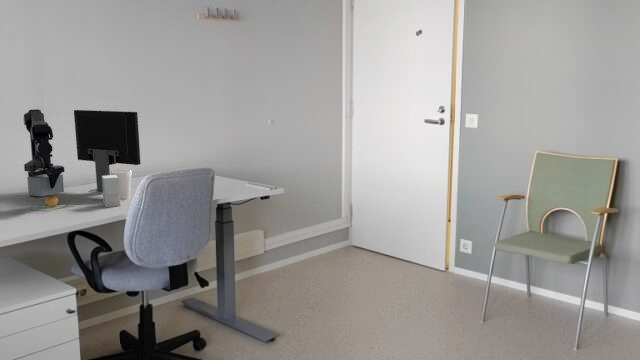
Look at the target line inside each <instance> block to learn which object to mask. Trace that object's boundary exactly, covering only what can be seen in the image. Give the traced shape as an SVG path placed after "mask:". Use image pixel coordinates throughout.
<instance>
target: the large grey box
mask: <svg viewBox="0 0 640 360" xmlns="http://www.w3.org/2000/svg"><path fill="white" fill-rule="evenodd" d="M26 178H27V188H28V189H27V190H28V196H30V195H33V196H32V197H34V196H41V197H46V196H52V195H55V194H59V193H60V194H61V193H65V190H64V189H65V188H64V174H60V175H59V177H58V179H57V182H56V184H55V186H54V188H53V189H51V186H50V180H49V177H48V176H47V175H46V174H44V175H38V176H32V177H28V176H27V177H26Z"/></svg>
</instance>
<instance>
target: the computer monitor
mask: <svg viewBox="0 0 640 360" xmlns="http://www.w3.org/2000/svg"><path fill="white" fill-rule="evenodd" d="M73 116H74V117H73V119H74V130H75V141H76V154H77V160H78V161H84V162H85V161H89V162H94V164H95V165H94V166H95V178H96V179H95V180H96V188H93V189H89V190H88V193H95V192H97V194H103V187H102V176H107V175H111V171H110V169H111V168H110V166H112V165H117V164H119V165H120V164H121V165H123V164H124V165H133V166H138V165H141V163H142V162H141V151H140V150H141V149H140V135H139V133H140V132H139V116H138V112H137V111H120V110H115V111H114V110H91V109H90V110H89V109H85V110H84V109H75V110H73Z"/></svg>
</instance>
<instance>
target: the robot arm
mask: <svg viewBox="0 0 640 360" xmlns="http://www.w3.org/2000/svg"><path fill="white" fill-rule="evenodd" d="M41 110H42V109H39V108H38V109H37V108H36V109H35V108H34V109H33V108H32V109H29V110H28V112H25V113H23V124H24V126H25V129H26V130H27V131H28V133H29V139H30V150H31V151H30V152H31V160H29V161H28V162H26V163H25V164H23V167H24V172H27V177H32V176H38V175H44V174H46V175H47V176H48V177H49V180H50V186H51V189H53V188H54V186H55V184H56V182H57V179H58V177H59V175H60V174H62V173H65V167H64V165H59V164H58V165H54V163H52V160H51V158H53V154H52V152H53V150H54V149H53V145H52V144H51V143H50V140H53V138H54V134H53V128H52V126H50V125H49V123H48V122H46V121H45V114H44V113H43V112H42V111H41ZM62 175H63V174H62ZM29 197H34V198H35V197H36V198H41V197H42V196H33V195H29Z"/></svg>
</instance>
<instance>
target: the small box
mask: <svg viewBox="0 0 640 360" xmlns="http://www.w3.org/2000/svg"><path fill="white" fill-rule="evenodd" d="M102 187H103V193H102V199H103V201H102V202H103V205H104V206H105V208H111V207H112V208H113V207H119V206H121V200H120V194H119V178H118V177H117V176H116V175H111V174H110V175H107V176H102Z"/></svg>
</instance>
